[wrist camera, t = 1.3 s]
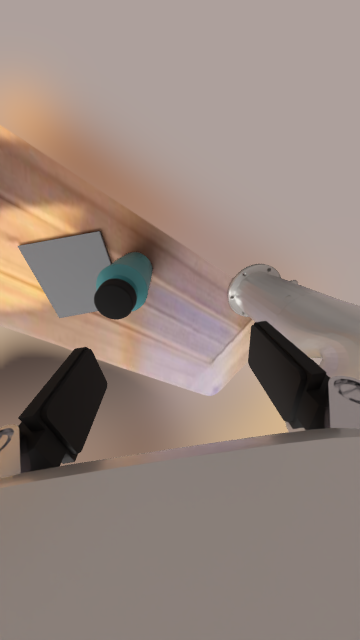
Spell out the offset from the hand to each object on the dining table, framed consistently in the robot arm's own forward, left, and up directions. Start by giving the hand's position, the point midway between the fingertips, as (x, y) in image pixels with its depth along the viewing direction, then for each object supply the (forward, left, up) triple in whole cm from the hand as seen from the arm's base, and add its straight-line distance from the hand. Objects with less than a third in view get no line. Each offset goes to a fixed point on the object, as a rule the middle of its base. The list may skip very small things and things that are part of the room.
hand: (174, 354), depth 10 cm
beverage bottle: (+6, -1, -28) cm, 29 cm away
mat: (+18, -1, -28) cm, 33 cm away
